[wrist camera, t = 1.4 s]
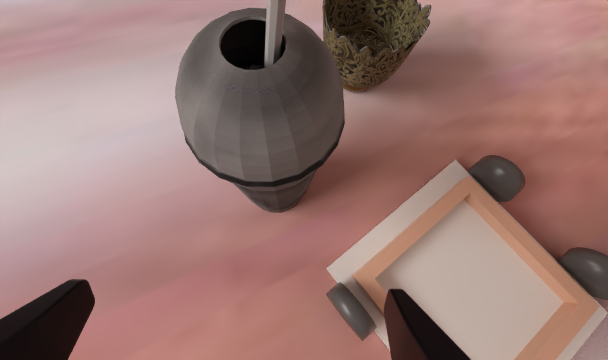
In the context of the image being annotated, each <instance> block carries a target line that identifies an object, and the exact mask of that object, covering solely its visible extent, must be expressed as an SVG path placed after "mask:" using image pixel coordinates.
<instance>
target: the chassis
mask: <svg viewBox="0 0 608 360" xmlns="http://www.w3.org/2000/svg"><path fill="white" fill-rule="evenodd" d="M524 185H525V178H524V175H523V173H522V172H521V170H520V169H519V168H518V167H517V166H516V165H515V164H514V163H512V162H511V161H509V160H507V159H505V158H503V157H500V156H495V155H489V156H485V157H483V158H482V159H480V160H479V161H478V162H477V163H476V164H475V165H474V166H472V167H471V169H470V170H469V173H468V172H467V171H466V170H465V169H464V168H463V167H462V166H461V165H460V164H459V163H458V162H457V161H456V160H454V161H453V162H451V163H450V164H449V165H448V166H447V167H445V168H444V169H443V170H442V171H441V172H439V173H438V174H437V175H436V176H435V177H434V178H432V179H431V180H430V181H429V182H428V183H426V184H425V185H424V186H423V187H422V188H420V189H419V190H418V191H417V192H416V193H415V194H413V195H412V196H411V197H410V198H409V199H407V200H406V201H405V202H404V203H403V204H402V205H400V206H399V207H398V208H397V209H396V210H394V211H393V212H392V213H391V214H390V215H389V216H387V217H386V218H385V219H384V220H383V221H381V222H380V223H379V224H378V225H377V226H375V227H374V228H373V229H372V230H371V231H370V232H368V233H367V234H366V235H365V236H364V237H362V238H361V239H360V240H359V241H358V242H357V243H355V244H354V245H353V246H352V247H351V248H349V249H348V250H347V251H346V252H345V253H343V254H342V255H341V256H340V257H339V258H338V259H336V260H335V261H334V262H333V263H332V264H330V265H329V266H328V267H327V268H326V269H327V271H328V272H329V273H330V274H331V276H332V277H333V278H334V280H335V281H336V282H337V283H338V284H337V285H336V286H334V287H333V288H332V289H331V290H330V291H329V292H328V293H326V295H327V296H328V298H329V299H330V301H331V302H332V304H333V305H334V306H335V308H336V309H337V310H338V312H339V313H340V314H341V316H342V317H343V318H344V320H345V321H346V322H347V323H348V325H349V326H350V327H351V328H352V330H353V331H354V332H355V333H356V334H357V336H358V337H359V338H360V339H361V340H362V341H363V340H364V339H365V338H366V337H367V336H368V335H369V334H370V333H372V332H373V331H375V332H376V334H377V335H378V336H379V337H380V339H381V340H382V341H383V343H384V344H385V345H386V346H387V348H388V349H389V350H390V347H389V341H388V335H387V329H386V324H385V318H384V305H385V301H386V297H387V293H388V290H389V289H391V288H392V289H403V290H404V291H405V292H406V293H407V294H408V295H409V296H410V297H411V298H412V299H413V300H414V301H415V302H416V303H417V304H418V305H419V306H420V307H421V308H422V309H423V310H424V311H425V312H426V313H427V314H428V315H429V316H430V317H431V318H432V320H433V321H434V322H435V323H436V324H437V325H438V326H439V327H440V328H441V329H442V330H443V331H444V332H445V333H446V334H447V335H448V336H449V337H450V338H451V339H452V340H453V341H454V342H455V343H456V344H457V345H458V346H459V347H460V348H461V349H462V350H463V351H464V352H465V354H466V355H467V356H468V357H469V358H470V359H471V360H571V359H572V357H573V356H574V355H575V354H576V352H577V351H578V350H579V349H580V347H581V346H582V345H583V344H584V342H585V341H586V340H587V339H588V338H589V336H590V335H591V334H592V333H593V331H594V330H595V329H596V328H597V326H598V325H599V324H600V323H601V321H602V320H603V319H604V318H605V316H606V315H607V314H608V312H607V311H606V310H605V309H604V308H603V307H602V306H601V305H600V304H599V303H598V302H597V301H596V300H595V299H594V298H593V297H592V296H594V297H597V298H600V299H605V300H608V256H607V255H605V254H602V253H600V252H598V251H595V250H591V249H587V248H579V247H578V248H572V249H569V250H568V251H567V252H566V253H565V254H564V256H563V257H562V258H561V259H560V260H559V261H558V262H557V261H556V260H555V259H554V258H553V257H552V256H551V255H550V254H549V253H548V252H547V251H546V250H545V249H544V248H543V247H542V246H541V245H540V244H539V243H538V242H537V241H536V240H535V239H534V238H533V237H532V236H531V235H530V234H529V233H528V232H527V231H526V230H525V229H524V228H523V227H522V226H521V225H520V224H519V223H518V222H517V221H516V220H515V219H514V218H513V217H512V216H511V215H510V214H509V213H508V212H507V211H506V210H505V209H504V208H503V207H502V206H501V205H500V204H499V203H498V202H497V201H500V202H506V201H509V200H511V199H512V198H513V197H514V196H515V195H517V194H518V193H519V192H520V191H521V190H522V189H523V187H524Z"/></svg>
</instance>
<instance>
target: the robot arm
mask: <svg viewBox="0 0 608 360" xmlns="http://www.w3.org/2000/svg"><path fill="white" fill-rule="evenodd" d="M94 304H95V298H94V295H93V292H92V290H91V287H90V285H89V282H88V281H87V280H84V279H71V280H68V281H66V282H65V283H63V284H61V285H59V286H58V287H56V288H54V289H52V290H51V291H49V292H47V293H45V294H44V295H42V296H40V297H38V298H37V299H35V300H33V301H31V302H30V303H28V304H26V305H24V306H23V307H21V308H19V309H17V310H16V311H14V312H12V313H10V314H9V315H7V316H5V317H3V318H2V319H0V360H68V358H69V356H70V354H71V352H72V350H73V348H74V346H75V344H76V342H77V340H78V338H79V336H80V334H81V332H82V330H83V328H84V326H85V324H86V322H87V320H88V318H89V316H90V314H91V312H92V310H93V307H94ZM384 318H385V324H386V329H387V335H388V341H389V347H390V353H391V358H392V360H471V359H470V358H469V357H468V356H467V355H466V354H465V352H464V351H463V350H462V349H461V348H460V347H459V346H458V345H457V344H456V343H455V342H454V341H453V340H452V339H451V338H450V337H449V336H448V335H447V334H446V333H445V332H444V331H443V330H442V329H441V328H440V327H439V326H438V325H437V324H436V323H435V322H434V321H433V320H432V318H431V317H430V316H429V315H428V314H427V313H426V312H425V311H424V310H423V309H422V308H421V307H420V306H419V305H418V304H417V303H416V302H415V301H414V300H413V299H412V298H411V297H410V296H409V295H408V294H407V293H406V292H405V291H404V290H403V289H392V288H391V289H389V290H388V293H387V297H386V301H385V305H384Z"/></svg>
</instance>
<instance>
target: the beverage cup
mask: <svg viewBox="0 0 608 360" xmlns="http://www.w3.org/2000/svg"><path fill="white" fill-rule="evenodd" d="M285 4H286V0H267V9H262V8H247V9H242V10H237V11H232V12H230V13H228V14H226V15H224V16H222V17H220V18H218V19H215V20H213V21H211V22H210V23H209V24H208V25H207V26H206V27H205V28H203V29H202V30H201V31H200V32H199V33H198V34H197V35H196V36H195V37H194V39H193V40H192V42H191V44H190V45H189V47H188V49H187V50H186V52H185V54H184V56H183V57H182V60H181V63H180V66H179V71H178V77H177V83H176V89H175V98H176V103H177V108H178V113H179V117H180V122H181V126H182V129H183V131H184V135H185V140H186V143H187V144H188V146H189V147H190V149H191V150H192V152H193V154H194V155H195V157H196V158H197V160H198V161H199V163H201V164H202V165H203V166H205V167H206V168H207V169H209V170H210V171H211V172H213V173H214V174H215V175H217V176H218V177H219V178H221V179H224V180H227V181H229V182H231V183H233V184H235V185H236V186H237V187H238V188H239V189H240V190H241V191H242V192H243V193H244V194H245V195H246V196H247V197H248V198H249V199H250V200H251V201H252V202H254V203H255V204H256V205H258V206H259V207H261V208H262V209H263V210H266V211H269V212H283V211H287V210H289V209H291V208H292V207H294V206H295V205H296V204H297V203H298V202H299V200H300V199H301V198H302V196H303V195H304V194H305V192H306V190H307V188H308V186H309V183H310V181H311V179H312V177H313V175H314V173H315V171H316V170H317V169H318V168H319V167H320V166H322V165H323V164H324V162H325V161H326V160H327V158H328V157H329V156H330V155H331V153H332V152H333V151H334V149H335V148H336V147H337V145H338V142H339V139H340V136H341V133H342V130H343V127H344V124H345V120H344V99H343V83H342V78H341V75H340V73H339V70H338V68H337V65H336V63H335V61H334V58H333V56H332V53H331V52H330V50H329V49H328V47H327V46H326V44H325V43H324V42H323V41H322V40H321V39H320V38H319V37H318V35H317V34H316V33H315V32H314V31H313V30H312V29H311V28H309V27H308V26H307V25H305V24H304V23H302V22H301V21H299V20H297V19H296V18H294V17H292V16H291V15H288V14H285Z"/></svg>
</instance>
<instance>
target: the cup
mask: <svg viewBox="0 0 608 360" xmlns="http://www.w3.org/2000/svg"><path fill="white" fill-rule="evenodd" d="M430 11H431V5H426V6H424V8H422V10H421V3H419V4H418V2H417V0H323V41H324V43H325V44H326V46H327V47H328V49H329V50H330V52H331V53H332V56H333V58H334V61H335V63H336V65H337V68H338V70H339V73H340V75H341V78H342V83H343V88H344V89H345V90H347V91H350V92H362V91H364V90H366V89H368V88H369V87H373V86H376V85H379V84H381V83H382V82H384V81H386V80H387V79H388V78H389V77H390V76H392V75H393V74H394V73H395V71H396V70H397V69H398V68H399V67H400V66H401V64H402V63H403V62H404V60H405V59H406V57H407V56H408V55H409V53H410V52H411V51H412V49H413V48H414V46H415V45H416V43H417V42H418V41H419V39H420V38H421V37H422V35H423V34H424V32H425V31H426V29H427V28H428V26H429V24H430V21H429V19H428V16H429V14H430Z"/></svg>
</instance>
